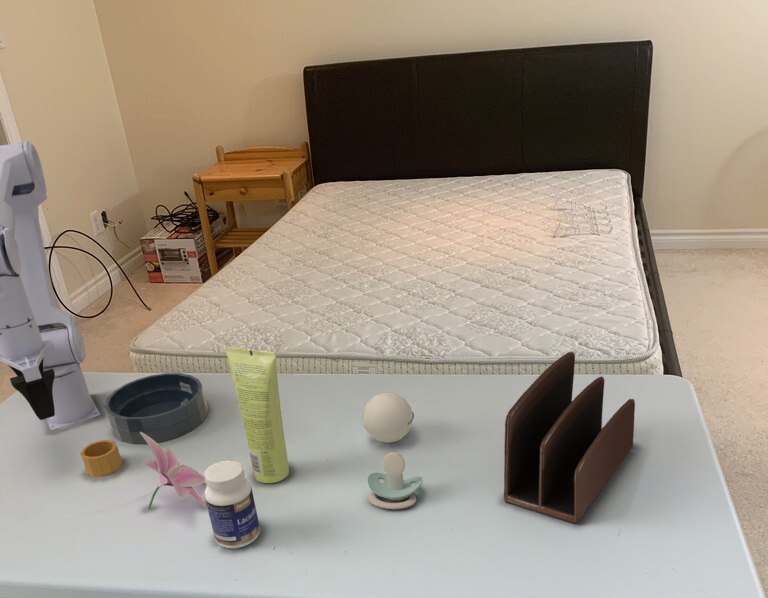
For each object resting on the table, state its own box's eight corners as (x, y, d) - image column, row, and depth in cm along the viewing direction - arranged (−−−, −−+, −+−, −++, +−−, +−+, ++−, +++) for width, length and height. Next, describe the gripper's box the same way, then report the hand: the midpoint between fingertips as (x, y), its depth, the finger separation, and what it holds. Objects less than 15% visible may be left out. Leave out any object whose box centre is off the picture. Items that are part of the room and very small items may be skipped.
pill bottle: (251, 551, 93) (236, 485, 88) (208, 548, 94) (191, 483, 89) (267, 522, 98) (253, 458, 93) (225, 520, 99) (210, 456, 94)
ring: (84, 467, 114) (77, 447, 112) (118, 456, 115) (112, 436, 114) (91, 483, 110) (84, 462, 108) (126, 471, 112) (119, 450, 110)
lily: (181, 545, 97) (204, 478, 95) (98, 509, 97) (118, 443, 95) (214, 513, 109) (234, 453, 106) (138, 481, 109) (158, 421, 107)
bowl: (96, 426, 124) (88, 399, 122) (176, 390, 133) (170, 365, 131) (143, 457, 115) (134, 429, 112) (226, 416, 123) (220, 389, 121)
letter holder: (502, 502, 97) (501, 406, 90) (566, 430, 111) (569, 341, 104) (577, 526, 92) (581, 426, 85) (634, 447, 105) (642, 355, 98)
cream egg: (409, 453, 109) (405, 409, 105) (359, 450, 111) (354, 406, 107) (423, 418, 117) (420, 376, 113) (377, 416, 119) (372, 374, 115)
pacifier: (415, 515, 97) (426, 487, 101) (411, 475, 93) (423, 448, 98) (360, 508, 99) (375, 481, 104) (355, 469, 96) (370, 443, 100)
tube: (289, 460, 110) (267, 337, 100) (297, 478, 106) (275, 351, 96) (251, 470, 109) (224, 346, 99) (258, 489, 105) (231, 361, 95)
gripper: (50, 329, 101) (80, 417, 107) (35, 299, 112) (62, 380, 118) (-7, 344, 98) (27, 433, 104) (-17, 311, 109) (15, 394, 116)
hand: (43, 406), depth 111 cm, fingers open, 7 cm apart
